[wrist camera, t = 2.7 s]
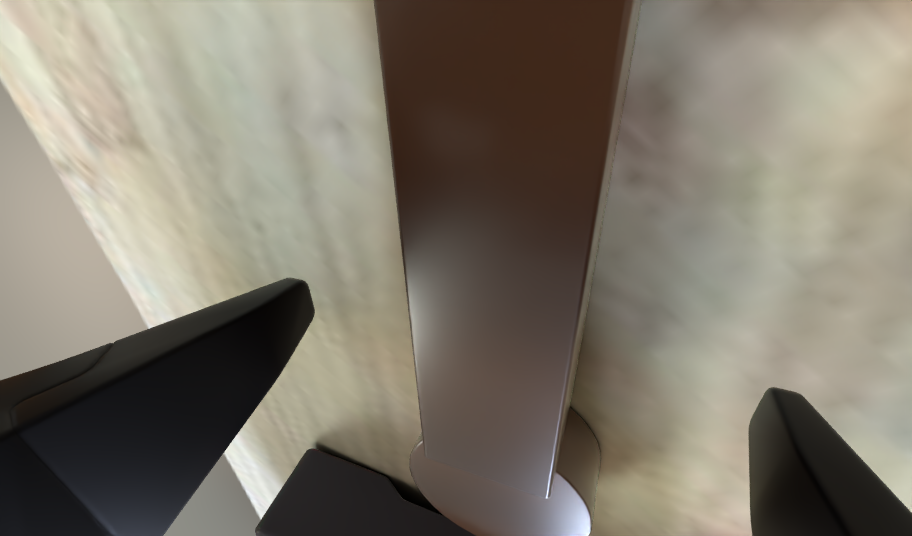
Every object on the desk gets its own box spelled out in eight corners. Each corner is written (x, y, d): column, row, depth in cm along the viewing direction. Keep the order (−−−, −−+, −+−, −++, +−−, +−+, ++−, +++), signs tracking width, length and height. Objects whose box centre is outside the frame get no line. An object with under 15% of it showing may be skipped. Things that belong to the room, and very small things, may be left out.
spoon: (384, -225, 7) (232, -322, 4) (800, -299, 5) (918, -520, 3) (439, 461, 16) (402, 544, 14) (587, 511, 15) (573, 615, 12)
